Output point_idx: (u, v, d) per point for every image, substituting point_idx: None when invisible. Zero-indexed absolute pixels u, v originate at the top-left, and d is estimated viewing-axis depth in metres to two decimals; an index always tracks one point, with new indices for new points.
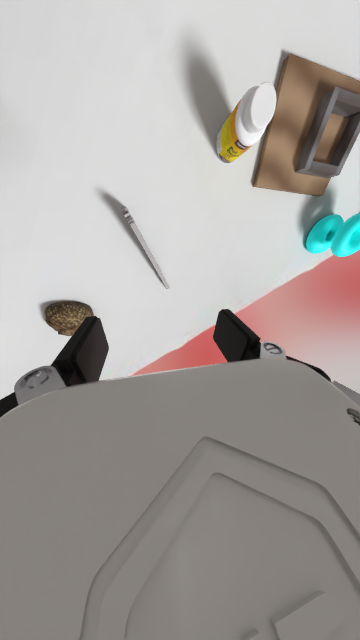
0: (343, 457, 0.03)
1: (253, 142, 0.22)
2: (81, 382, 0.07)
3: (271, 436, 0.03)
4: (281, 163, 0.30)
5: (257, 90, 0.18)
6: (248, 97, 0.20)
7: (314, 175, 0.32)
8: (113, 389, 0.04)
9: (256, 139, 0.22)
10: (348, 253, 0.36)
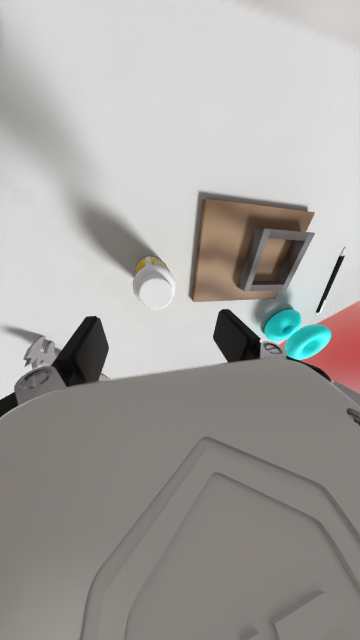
0: (343, 457, 0.03)
1: None
2: (81, 382, 0.07)
3: (271, 436, 0.03)
4: (219, 282, 0.26)
5: (142, 286, 0.15)
6: (140, 278, 0.16)
7: None
8: (113, 389, 0.04)
9: None
10: None
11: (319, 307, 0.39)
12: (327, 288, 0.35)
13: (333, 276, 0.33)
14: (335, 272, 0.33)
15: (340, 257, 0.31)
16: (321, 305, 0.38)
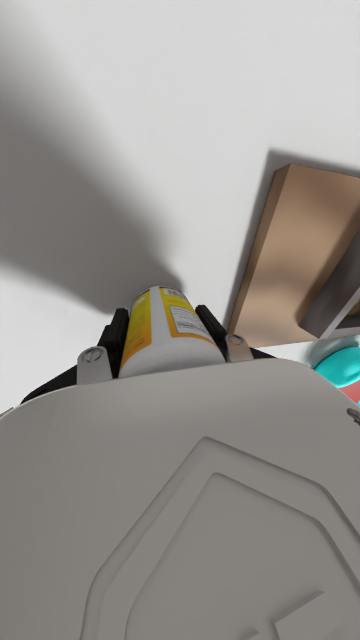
0: (343, 457, 0.03)
1: None
2: (120, 362, 0.08)
3: (271, 436, 0.03)
4: (273, 321, 0.16)
5: None
6: None
7: None
8: (113, 389, 0.04)
9: None
10: None
11: None
12: None
13: None
14: None
15: None
16: None
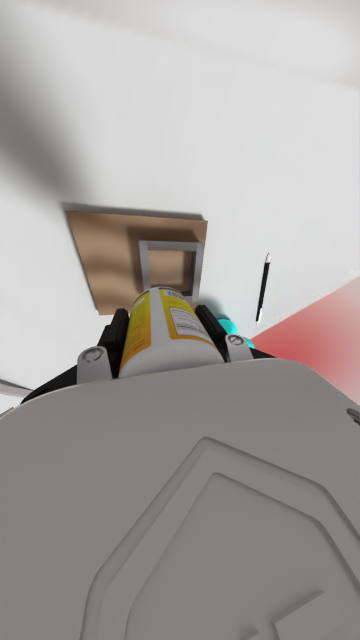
0: (343, 457, 0.03)
1: None
2: (120, 362, 0.08)
3: (271, 436, 0.03)
4: (121, 295, 0.25)
5: None
6: None
7: None
8: (113, 389, 0.04)
9: None
10: None
11: (257, 316, 0.37)
12: (260, 296, 0.33)
13: (263, 284, 0.31)
14: (264, 279, 0.31)
15: (266, 264, 0.29)
16: (259, 314, 0.36)
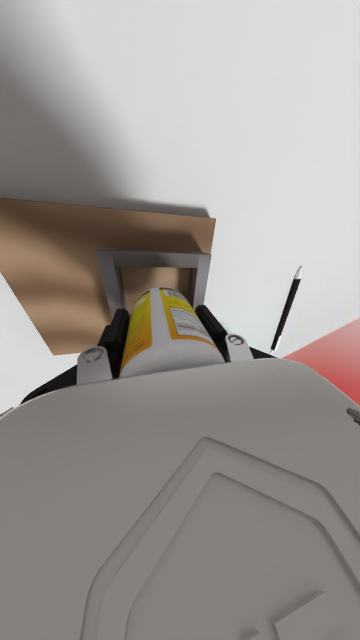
0: (343, 457, 0.03)
1: None
2: (120, 362, 0.08)
3: (271, 436, 0.03)
4: (84, 328, 0.17)
5: None
6: None
7: None
8: (113, 389, 0.04)
9: None
10: None
11: (274, 344, 0.29)
12: (282, 321, 0.25)
13: (288, 307, 0.23)
14: (290, 301, 0.23)
15: (295, 281, 0.21)
16: (276, 342, 0.28)
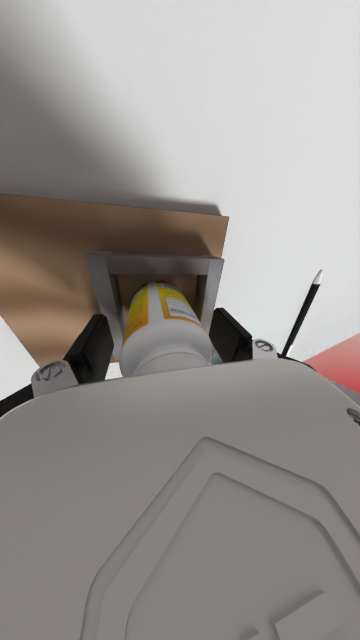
0: (343, 457, 0.03)
1: None
2: (91, 376, 0.07)
3: (271, 436, 0.03)
4: None
5: None
6: (137, 355, 0.07)
7: None
8: (113, 389, 0.04)
9: None
10: None
11: (284, 353, 0.26)
12: (294, 329, 0.23)
13: (303, 314, 0.21)
14: (306, 308, 0.21)
15: (313, 286, 0.19)
16: (286, 351, 0.26)
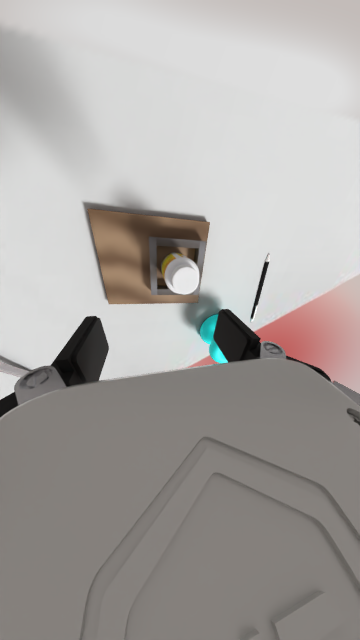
0: (343, 457, 0.03)
1: None
2: (81, 382, 0.07)
3: (271, 436, 0.03)
4: (130, 286, 0.28)
5: (176, 273, 0.18)
6: (172, 268, 0.19)
7: None
8: (113, 389, 0.04)
9: None
10: None
11: (253, 313, 0.39)
12: (257, 294, 0.36)
13: (261, 282, 0.34)
14: (262, 278, 0.34)
15: (265, 263, 0.32)
16: (254, 311, 0.39)
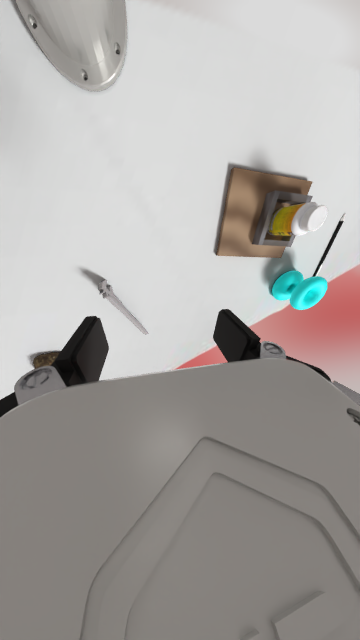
0: (343, 457, 0.03)
1: (303, 234, 0.29)
2: (81, 382, 0.07)
3: (271, 436, 0.03)
4: (238, 238, 0.34)
5: (314, 210, 0.25)
6: (305, 209, 0.26)
7: None
8: (113, 389, 0.04)
9: (306, 232, 0.28)
10: (304, 308, 0.40)
11: (316, 272, 0.46)
12: (325, 252, 0.42)
13: (332, 241, 0.41)
14: (334, 236, 0.40)
15: (340, 222, 0.38)
16: (318, 269, 0.45)
